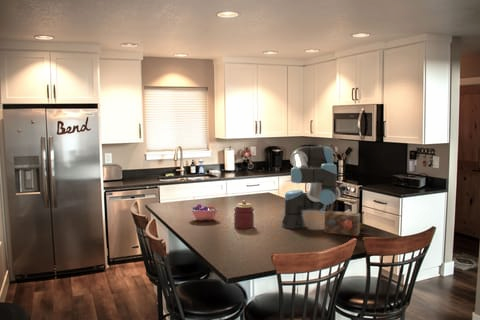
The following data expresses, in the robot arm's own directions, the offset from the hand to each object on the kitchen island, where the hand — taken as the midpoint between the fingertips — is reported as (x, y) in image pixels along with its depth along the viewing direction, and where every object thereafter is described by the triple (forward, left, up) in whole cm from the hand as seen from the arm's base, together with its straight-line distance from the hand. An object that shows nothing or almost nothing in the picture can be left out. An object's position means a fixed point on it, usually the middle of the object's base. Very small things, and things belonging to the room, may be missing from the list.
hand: (343, 186), depth 243 cm
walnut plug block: (-5, +22, -32) cm, 39 cm away
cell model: (-98, +14, -32) cm, 104 cm away
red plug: (0, +20, -28) cm, 34 cm away
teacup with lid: (-3, +38, -32) cm, 50 cm away
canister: (-65, +8, -32) cm, 73 cm away
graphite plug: (-10, +22, -28) cm, 37 cm away
